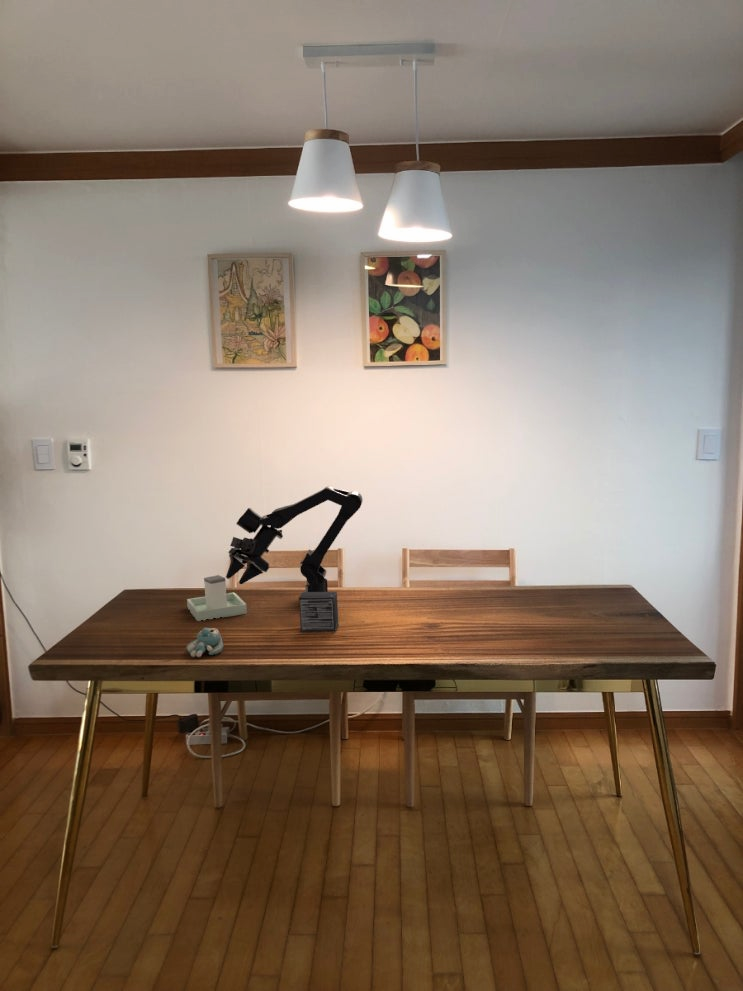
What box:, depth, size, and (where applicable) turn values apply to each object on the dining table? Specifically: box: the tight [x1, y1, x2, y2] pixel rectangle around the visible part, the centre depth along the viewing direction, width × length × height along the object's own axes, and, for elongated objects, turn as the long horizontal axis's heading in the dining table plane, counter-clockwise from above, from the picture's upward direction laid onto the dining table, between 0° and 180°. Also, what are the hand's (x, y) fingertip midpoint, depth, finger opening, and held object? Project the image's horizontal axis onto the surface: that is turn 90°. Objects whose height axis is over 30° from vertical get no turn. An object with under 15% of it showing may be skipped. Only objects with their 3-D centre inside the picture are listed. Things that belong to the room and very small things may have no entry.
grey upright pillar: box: [203, 574, 227, 609], centre depth 254 cm, size 5×5×10 cm
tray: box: [186, 592, 248, 622], centre depth 255 cm, size 16×16×3 cm
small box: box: [298, 591, 340, 633], centre depth 233 cm, size 11×6×10 cm, turn 84°
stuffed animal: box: [185, 627, 224, 658], centre depth 217 cm, size 11×7×12 cm
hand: (233, 580), depth 257 cm, fingers open, 9 cm apart
